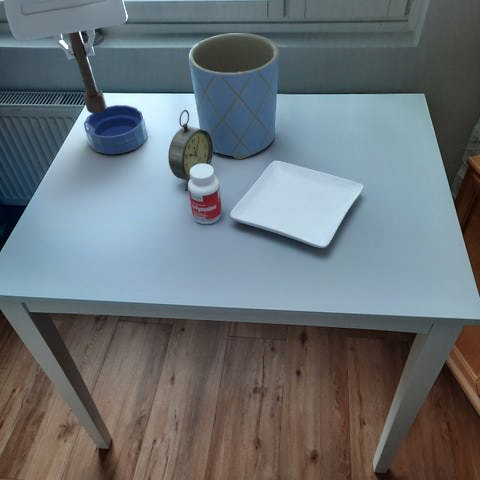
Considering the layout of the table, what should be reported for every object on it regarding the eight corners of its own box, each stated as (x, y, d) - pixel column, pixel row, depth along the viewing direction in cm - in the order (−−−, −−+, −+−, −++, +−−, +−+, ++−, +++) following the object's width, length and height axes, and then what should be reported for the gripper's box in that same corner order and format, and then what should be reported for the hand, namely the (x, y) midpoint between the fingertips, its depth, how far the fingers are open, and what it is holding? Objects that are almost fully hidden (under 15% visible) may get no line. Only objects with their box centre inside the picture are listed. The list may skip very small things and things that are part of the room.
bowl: (93, 161, 112) (86, 142, 108) (87, 130, 120) (81, 111, 116) (152, 149, 114) (147, 130, 110) (142, 119, 122) (138, 100, 118)
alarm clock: (189, 196, 102) (178, 127, 89) (169, 189, 104) (155, 120, 91) (216, 169, 108) (210, 100, 95) (197, 163, 110) (188, 94, 97)
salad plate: (273, 170, 107) (273, 157, 104) (363, 196, 100) (365, 182, 97) (227, 227, 96) (226, 214, 93) (325, 260, 89) (327, 247, 86)
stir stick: (88, 114, 95) (54, 13, 80) (86, 105, 97) (53, 4, 83) (107, 111, 95) (78, 9, 81) (105, 101, 98) (76, 1, 83)
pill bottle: (190, 225, 97) (183, 180, 88) (194, 205, 100) (188, 160, 92) (220, 225, 96) (215, 180, 87) (223, 206, 100) (219, 161, 91)
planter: (183, 142, 115) (169, 56, 99) (235, 109, 123) (231, 25, 107) (240, 172, 107) (236, 83, 91) (293, 134, 115) (297, 47, 99)
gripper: (114, -48, 80) (133, 39, 91) (-9, -29, 78) (26, 58, 89) (118, -36, 77) (138, 53, 88) (-10, -16, 74) (26, 74, 85)
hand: (81, 56), depth 88 cm, fingers closed on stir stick, 2 cm apart
